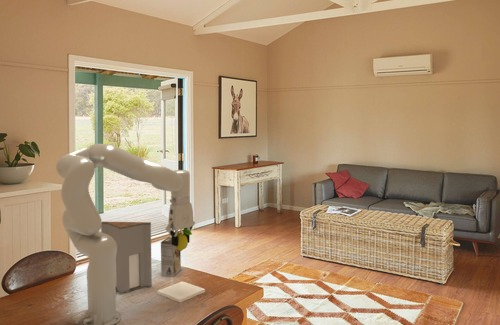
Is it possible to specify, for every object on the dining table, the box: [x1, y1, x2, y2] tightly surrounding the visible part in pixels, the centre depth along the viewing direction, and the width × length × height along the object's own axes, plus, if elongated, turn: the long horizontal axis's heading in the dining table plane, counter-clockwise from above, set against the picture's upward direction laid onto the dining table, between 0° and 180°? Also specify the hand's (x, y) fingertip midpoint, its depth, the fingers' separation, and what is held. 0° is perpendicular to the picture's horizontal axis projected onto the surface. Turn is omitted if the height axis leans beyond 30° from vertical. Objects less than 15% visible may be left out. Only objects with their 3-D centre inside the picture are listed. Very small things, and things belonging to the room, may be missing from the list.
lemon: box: [170, 229, 193, 252], centre depth 178 cm, size 7×6×10 cm
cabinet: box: [100, 221, 153, 295], centre depth 182 cm, size 21×10×28 cm, turn 88°
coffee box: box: [160, 236, 182, 278], centre depth 202 cm, size 9×6×16 cm
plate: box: [156, 280, 206, 303], centre depth 180 cm, size 14×14×1 cm
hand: (180, 243), depth 178 cm, fingers closed on lemon, 5 cm apart
